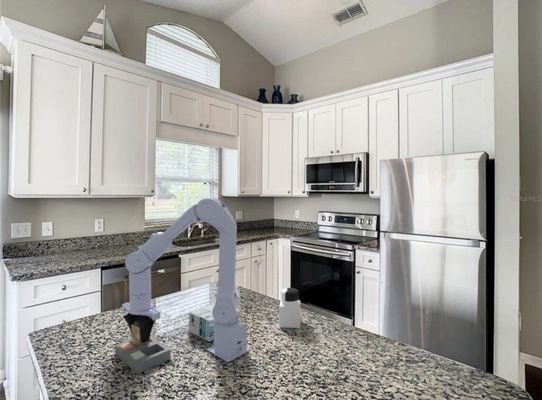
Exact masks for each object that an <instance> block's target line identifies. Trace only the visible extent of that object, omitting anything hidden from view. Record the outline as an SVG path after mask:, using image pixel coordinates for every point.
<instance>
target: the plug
mask: <svg viewBox="0 0 542 400" xmlns="http://www.w3.org/2000/svg"><path fill="white" fill-rule="evenodd" d="M131 339H132V345H133V346H135V347H136V348H137V347H139V346H142V345H144V344H147V343H149V342H150V339H149V340H148V341H146V342H144V343H142V342H141V337H140V329H139V326H138V324H137V322H136V321H135V322H134V324H132V335H131Z"/></svg>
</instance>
